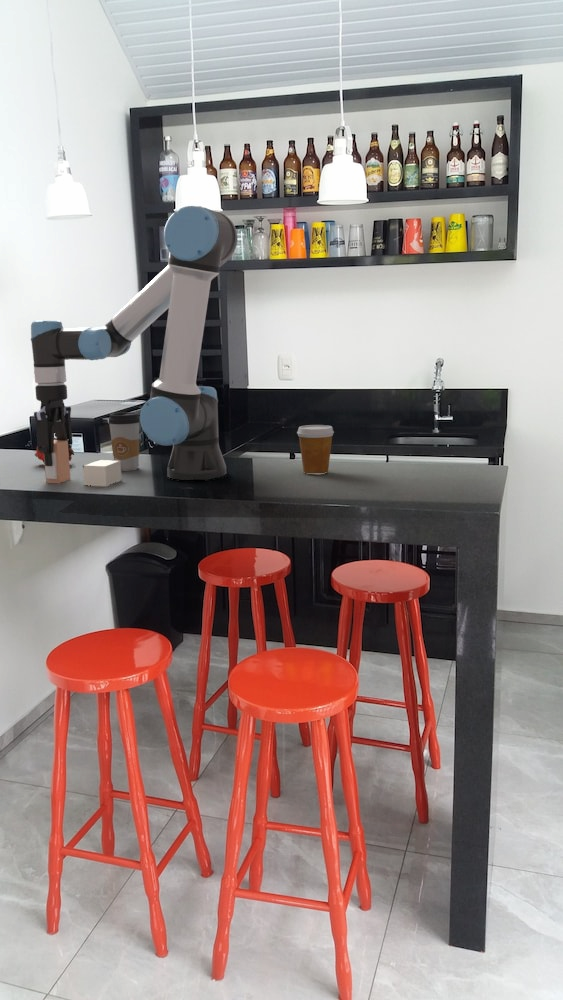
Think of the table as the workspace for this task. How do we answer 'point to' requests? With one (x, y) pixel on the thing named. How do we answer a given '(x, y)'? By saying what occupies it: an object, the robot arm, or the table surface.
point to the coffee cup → (125, 439)
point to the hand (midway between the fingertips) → (58, 476)
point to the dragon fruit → (41, 455)
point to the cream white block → (102, 472)
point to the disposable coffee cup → (315, 447)
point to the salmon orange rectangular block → (61, 462)
